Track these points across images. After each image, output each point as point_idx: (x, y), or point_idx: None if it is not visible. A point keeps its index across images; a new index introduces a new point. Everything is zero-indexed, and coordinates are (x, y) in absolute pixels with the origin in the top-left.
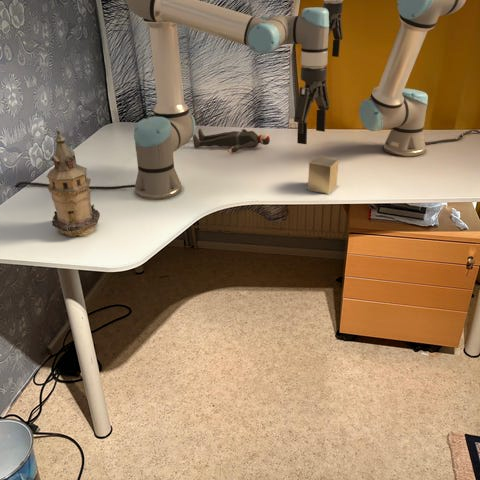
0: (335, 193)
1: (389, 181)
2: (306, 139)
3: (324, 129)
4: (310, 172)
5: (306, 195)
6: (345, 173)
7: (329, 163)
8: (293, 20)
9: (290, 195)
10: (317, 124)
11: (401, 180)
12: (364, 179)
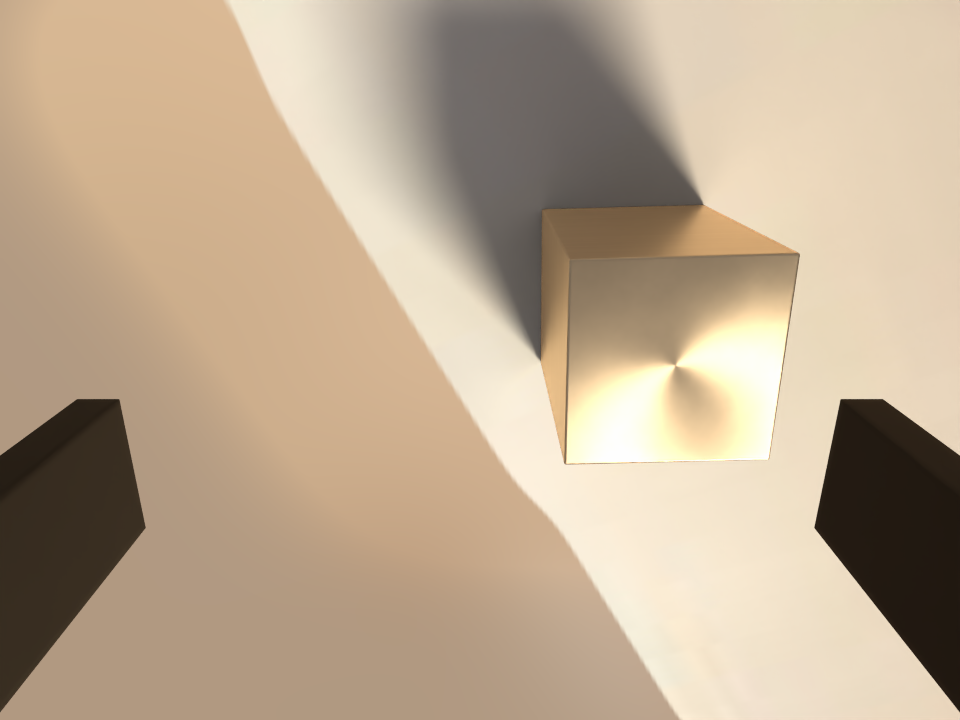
0: None
1: None
2: (99, 573)
3: (846, 548)
4: (558, 255)
5: (450, 241)
6: (951, 326)
7: (637, 429)
8: None
9: (388, 136)
10: (902, 476)
11: None
12: None
